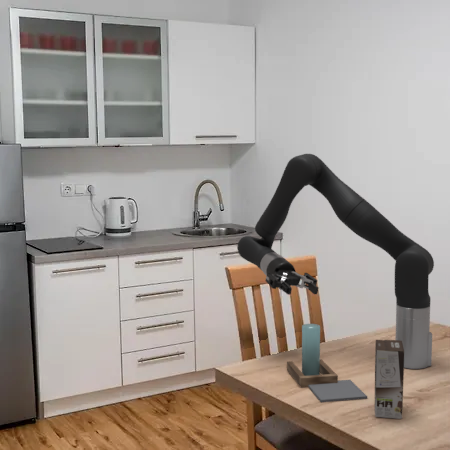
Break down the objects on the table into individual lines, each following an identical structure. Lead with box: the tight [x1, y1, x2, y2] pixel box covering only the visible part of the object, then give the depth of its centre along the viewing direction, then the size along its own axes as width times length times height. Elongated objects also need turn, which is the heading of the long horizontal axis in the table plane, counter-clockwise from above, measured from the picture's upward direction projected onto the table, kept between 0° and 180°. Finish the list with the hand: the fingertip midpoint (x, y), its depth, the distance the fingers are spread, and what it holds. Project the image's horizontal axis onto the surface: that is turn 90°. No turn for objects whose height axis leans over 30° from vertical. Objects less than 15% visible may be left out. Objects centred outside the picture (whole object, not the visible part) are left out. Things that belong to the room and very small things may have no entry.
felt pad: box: [307, 379, 368, 403], centre depth 175 cm, size 12×12×1 cm
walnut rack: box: [286, 358, 339, 388], centre depth 185 cm, size 10×14×2 cm
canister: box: [301, 323, 321, 376], centre depth 185 cm, size 5×5×14 cm
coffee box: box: [374, 339, 405, 420], centre depth 162 cm, size 9×6×16 cm
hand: (303, 291), depth 191 cm, fingers open, 8 cm apart
